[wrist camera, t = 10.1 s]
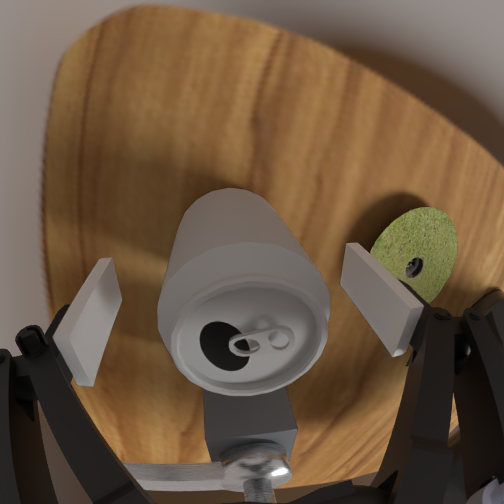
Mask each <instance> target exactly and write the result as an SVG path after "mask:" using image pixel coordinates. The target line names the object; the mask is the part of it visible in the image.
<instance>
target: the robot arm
mask: <svg viewBox="0 0 504 504" xmlns="http://www.w3.org/2000/svg"><path fill="white" fill-rule="evenodd" d="M340 285H341V286H342V288H343V289H344V290H345V292H346V293H347V294H348V296H349V297H350V298H351V300H352V301H353V303H354V304H355V305H356V307H357V308H358V309H359V311H360V312H361V313H362V315H363V316H364V318H365V319H366V320H367V322H368V323H369V324H370V326H371V327H372V329H373V330H374V331H375V333H376V334H377V336H378V337H379V338H380V340H381V341H382V343H383V344H384V345H385V347H386V348H387V350H388V351H389V353H390V354H391V356H392V357H395V356H399V355H402V354H405V353H406V351H407V349H408V346H409V344H410V345H411V346H412V347H413V351H412V354H411V356H410V358H409V360H408V362H407V364H406V366H408V365H409V368H408V373H407V377H406V382H405V386H404V391H403V395H402V399H401V403H400V407H399V410H398V414H397V418H396V421H395V425H394V428H393V431H392V434H391V438H390V441H389V444H388V447H387V450H386V453H385V455H384V458H383V461H382V464H381V466H380V469H379V471H378V473H377V475H376V477H375V478H374V480H373V481H372V483H371V485H370V486H364V485H363V486H362V485H353V484H352V481H351V480H348V481H345V482H341V483H338V484H335V485H331V486H327V487H323V488H320V489H318V490H316V491H314V492H311V493H309V494H307V495H305V496H303V497H301V498H299V499H296V500H294V501H292V502H289V503H284V504H504V293H503V292H502V291H499V290H497V291H493V292H491V293H489V294H487V295H486V296H484V297H483V298H482V299H481V300H480V301H478V302H477V303H476V304H475V305H474V306H473V307H472V308H467V309H465V311H464V313H463V315H462V317H452V315H451V314H450V312H448V311H447V310H445V309H443V308H438V307H434V308H432V307H431V306H430V305H429V304H428V303H427V302H426V301H425V300H424V299H423V298H422V297H421V296H420V295H418V293H417V292H416V291H415V290H413V288H412V287H411V286H409V285H408V284H407V283H405V282H403V281H402V280H400V279H399V280H397V279H396V278H395V277H394V276H393V275H392V274H391V273H390V272H389V271H388V270H387V269H386V268H385V267H384V266H383V265H382V264H380V263H379V262H378V261H377V260H376V259H375V258H374V257H373V256H372V255H371V254H370V253H368V252H367V251H366V250H365V249H364V248H363V247H362V246H361V245H360V244H358V243H346V248H345V255H344V261H343V268H342V274H341V280H340ZM121 302H122V296H121V292H120V288H119V284H118V280H117V276H116V271H115V267H114V263H113V258H112V257H111V258H100V259H99V261H98V262H97V264H96V265H95V267H94V268H93V270H92V271H91V273H90V274H89V276H88V277H87V279H86V281H85V282H84V284H83V285H82V287H81V289H80V290H79V292H78V293H77V295H76V297H75V298H74V300H73V302H72V303H71V304H66V305H65V306H63V307H62V308H61V309H60V310H59V311H58V313H57V314H56V316H55V319H53V321H52V323H51V324H50V326H49V328H48V330H47V331H46V333H45V335H44V333H43V331H42V329H41V328H40V327H39V326H37V325H30V326H27V327H25V328H23V329H22V330H20V332H19V333H18V334H17V336H16V339H15V341H16V344H17V346H18V347H19V349H20V351H21V353H22V355H21V356H16V357H12V355H11V354H10V352H9V351H8V350H7V349H0V504H58V501H57V498H56V494H55V491H54V487H53V484H52V480H51V477H50V472H49V468H48V464H47V460H46V455H45V450H44V445H43V440H42V433H41V427H40V420H39V412H38V403H37V400H39V402H40V405H41V407H42V410H43V412H44V415H45V417H46V419H47V422H48V424H49V426H50V428H51V430H52V433H53V435H54V437H55V439H56V441H57V443H58V445H59V447H60V449H61V451H62V452H63V454H64V456H65V458H66V460H67V462H68V463H69V465H70V467H71V469H72V470H73V472H74V474H75V476H76V477H77V479H78V480H79V482H80V484H81V485H82V487H83V488H84V490H85V491H86V493H87V494H88V496H89V497H90V499H91V501H92V502H93V504H157V503H156V502H155V501H154V500H153V499H152V497H151V496H150V495H149V494H148V493H147V492H146V491H145V490H144V489H143V488H142V486H141V485H140V484H139V483H138V482H137V481H136V479H135V478H134V477H133V476H132V475H131V473H130V472H129V471H128V470H127V468H126V467H125V466H124V465H123V463H122V462H121V461H120V460H119V458H118V457H117V456H116V454H115V453H114V452H113V450H112V449H111V447H110V446H109V445H108V443H107V442H106V440H105V439H104V437H103V436H102V435H101V433H100V432H99V430H98V429H97V427H96V426H95V424H94V422H93V421H92V419H91V418H90V416H89V415H88V413H87V411H86V410H85V408H84V406H83V405H82V403H81V401H80V399H79V398H78V396H77V394H76V392H75V391H74V389H73V387H72V385H71V384H70V383H71V380H72V377H73V378H74V379H75V381H76V383H77V385H79V386H90V387H93V385H94V382H95V378H96V375H97V372H98V368H99V365H100V362H101V359H102V356H103V353H104V350H105V347H106V344H107V341H108V338H109V335H110V332H111V329H112V327H113V324H114V321H115V318H116V316H117V313H118V310H119V308H120V305H121ZM453 393H454V398H455V404H456V409H457V416H458V422H459V429H458V430H457V431H455V432H454V433H453V434H452V435H450V436H449V437H448V435H449V428H450V420H451V411H452V400H453ZM223 504H281V503H263V502H251V501H247V502H236V503H223ZM282 504H283V503H282Z"/></svg>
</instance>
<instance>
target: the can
mask: <svg viewBox="0 0 504 504" xmlns="http://www.w3.org/2000/svg"><path fill="white" fill-rule="evenodd" d="M157 315H158V330H159V333H160V335H161V337H162V339H163V342H164V344H165V346H166V348H167V350H168V351H169V353H170V355H171V357H172V359H173V361H174V363H175V365H176V367H177V369H178V370H179V371H180V372H181V373H182V374H183V375H184V376H185V377H186V378H187V379H188V380H189V381H191V382H192V383H194V384H196V385H198V386H200V387H202V388H204V389H206V390H208V391H211V392H215V393H219V394H224V395H228V396H253V395H258V394H263V393H268V392H272V391H274V390H277V389H279V388H282V387H284V386H286V385H288V384H291V383H292V382H294V381H295V380H296V379H298V378H299V377H301V376H302V375H303V374H305V373H306V372H307V371H308V370H309V369H310V368H311V367H312V366H313V364H314V363H315V362H316V361H317V360H318V358H319V357H320V356H321V354H322V351H323V349H324V346H325V344H326V341H327V339H328V320H329V317H330V294H329V291H328V289H327V287H326V284H325V282H324V280H323V277H322V275H321V273H320V272H319V270H318V269H317V267H316V266H315V265H314V263H313V262H312V260H311V259H310V258H309V256H308V255H307V253H306V252H305V250H304V249H303V248H302V246H301V245H300V244H299V242H298V241H297V239H296V238H295V237H294V235H293V234H292V232H291V231H290V230H289V228H288V227H287V226H286V224H285V223H284V222H283V220H282V219H281V217H280V216H279V215H278V213H277V212H276V211H275V209H274V208H273V207H272V206H271V205H270V204H269V203H268V202H267V201H266V200H265V199H264V198H263V197H261V196H259V195H257V194H254V193H252V192H250V191H248V190H244V189H236V188H225V189H220V190H215V191H211V192H209V193H208V194H206V195H204V196H202V197H200V198H199V199H197V200H196V201H195V202H194V203H193V204H192V205H191V206H190V207H189V208H188V210H187V211H186V212H185V213H184V216H183V218H182V220H181V223H180V225H179V227H178V231H177V234H176V237H175V241H174V244H173V248H172V252H171V255H170V259H169V263H168V266H167V270H166V274H165V278H164V282H163V285H162V289H161V293H160V298H159V302H158V306H157Z"/></svg>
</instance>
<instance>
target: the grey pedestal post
mask: <svg viewBox="0 0 504 504" xmlns="http://www.w3.org/2000/svg"><path fill="white" fill-rule="evenodd" d="M203 404H204V429H205V440H206V444H207V447H208V451H209V454H210V458H211V461H212V462H219V456H220V455H221V454H222V453H223V452H225V451H227V450H229V449H231V448H234V447H237V446H241V445H246V444H254V443H272V444H277V445H280V446H282V447H284V448H285V449H286V453H287V457H288V460H290V457H291V453H292V449H293V446H294V442H295V438H296V434H297V430H298V427H297V424H296V420H295V417H294V414H293V410H292V407H291V404H290V400H289V397H288V393H287V390H286V387H285V386H284V387H282V388H279V389H277V390H274V391H272V392H268V393H263V394H258V395H253V396H228V395H224V394H219V393H215V392H211V391H208V390H206V389H204V388H203Z"/></svg>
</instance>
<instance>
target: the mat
mask: <svg viewBox="0 0 504 504" xmlns="http://www.w3.org/2000/svg"><path fill="white" fill-rule="evenodd" d="M370 254H371V255H372V256H373V257H374V258H375V259H376V260H377V261H378V262H379V263H380V264H382V265H383V266H384V267H385V268H386V269H387V270H388V271H389V272H390V273H391V274H392V275H393V276H394V277H395V278H396V279H397V280H399V279H400V280H402V281H403V282H405V283H407V284H408V285H409V286H411V287H412V288H413V290H415V291H416V292H417V293H418V295H420V296H421V297H422V298H423V299H424V300H425V301H426V302H427V303H428V304H429V303H430V302H431V301H433V300H434V299H435V297H436V296H437V294H439V293H440V291H441V289H442V288H443V286H444V285H445V283H446V282H447V280H448V278H449V277H450V273H451V272H452V269H453V266H454V264H455V259H456V256H457V234H456V231H455V227H454V225H453V223H452V221H451V219H450V218H449V217H448V216H447V215H446V214H445V213H444V212H443V211H440V210H439V209H437V208H432V207H420V208H417V209H416V208H415V209H414V210H410V211H409V212H407V213H404V214H403V215H402V216H400V217H399V218H397V219H396V220H395V221H393V222H392V223H391V224H390V225H389V226H388V227H387V228H386V229H385V230H384V232H383V233H382V234H381V235H380V236H379V238H378V239H377V241H376V242H375V245H374V246H373V247H372V249H371V252H370Z"/></svg>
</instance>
